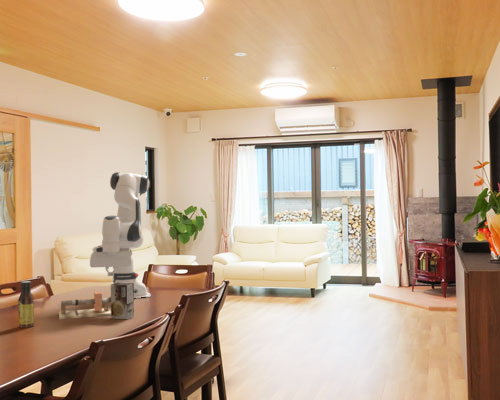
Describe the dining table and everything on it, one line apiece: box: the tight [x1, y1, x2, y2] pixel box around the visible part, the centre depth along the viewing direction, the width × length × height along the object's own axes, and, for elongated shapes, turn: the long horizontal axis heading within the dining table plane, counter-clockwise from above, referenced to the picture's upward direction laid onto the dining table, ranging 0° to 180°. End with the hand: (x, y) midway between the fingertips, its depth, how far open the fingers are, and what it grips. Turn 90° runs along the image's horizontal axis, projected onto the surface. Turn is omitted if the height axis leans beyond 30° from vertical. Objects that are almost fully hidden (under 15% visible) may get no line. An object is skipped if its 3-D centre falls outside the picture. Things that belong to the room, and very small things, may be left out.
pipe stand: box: [58, 297, 111, 320], centre depth 260 cm, size 24×14×7 cm, turn 111°
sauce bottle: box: [17, 280, 35, 329], centre depth 234 cm, size 7×6×20 cm
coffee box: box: [110, 283, 135, 320], centre depth 252 cm, size 9×6×16 cm
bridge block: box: [93, 291, 103, 311], centre depth 262 cm, size 3×8×8 cm, turn 21°
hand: (110, 275), depth 267 cm, fingers closed
